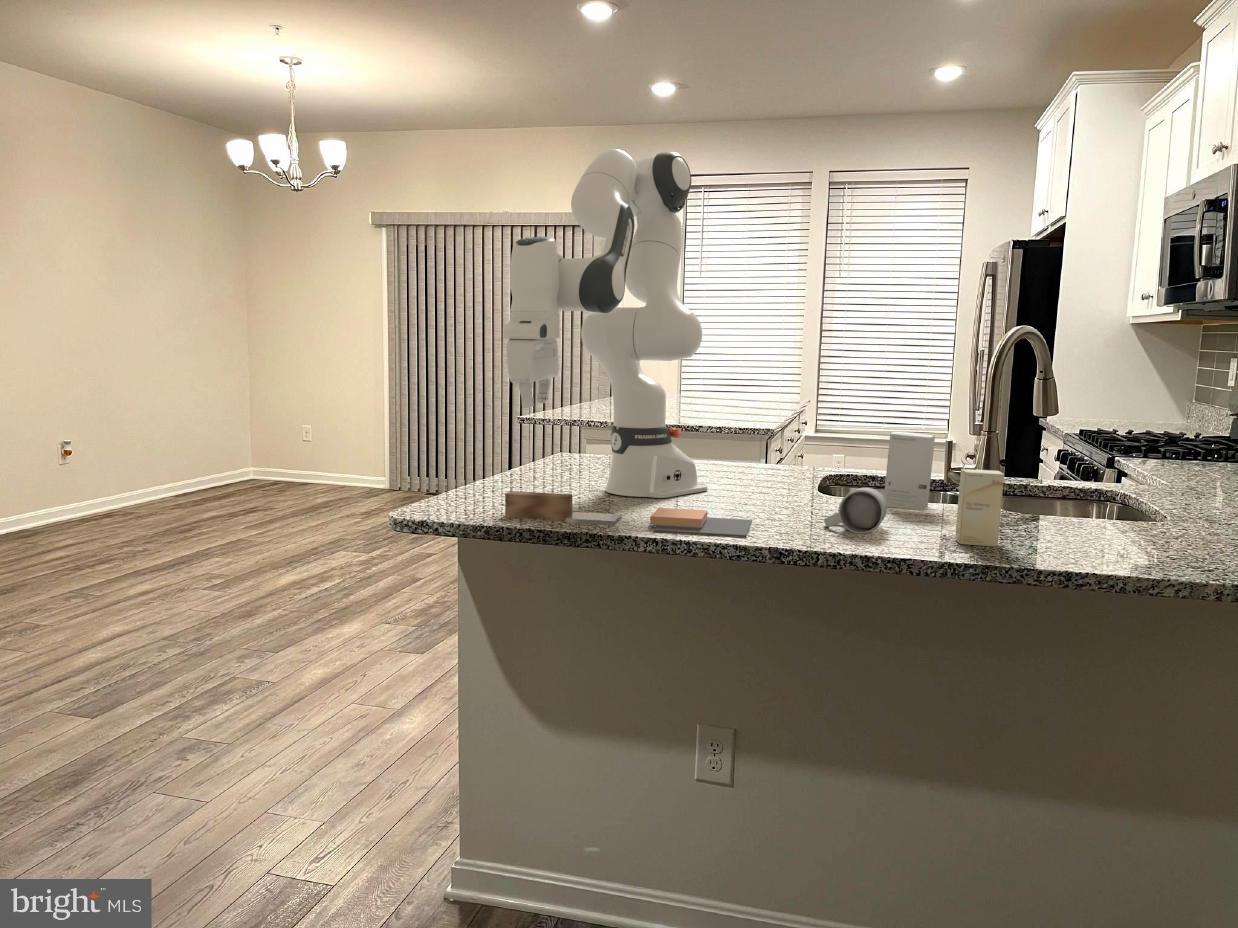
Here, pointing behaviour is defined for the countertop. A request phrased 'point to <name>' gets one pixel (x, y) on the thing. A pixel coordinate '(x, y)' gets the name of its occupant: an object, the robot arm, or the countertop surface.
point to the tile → (678, 518)
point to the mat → (714, 528)
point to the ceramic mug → (860, 511)
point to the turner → (552, 508)
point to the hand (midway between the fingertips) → (535, 405)
